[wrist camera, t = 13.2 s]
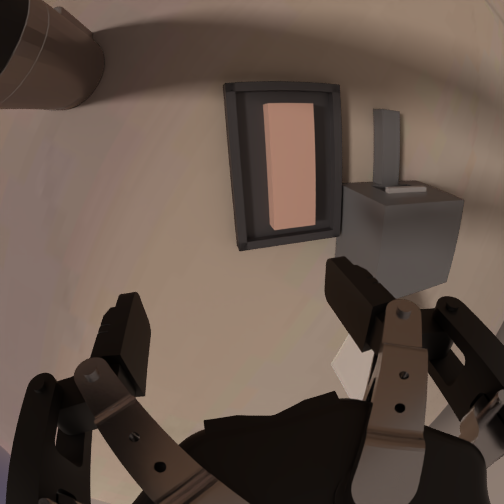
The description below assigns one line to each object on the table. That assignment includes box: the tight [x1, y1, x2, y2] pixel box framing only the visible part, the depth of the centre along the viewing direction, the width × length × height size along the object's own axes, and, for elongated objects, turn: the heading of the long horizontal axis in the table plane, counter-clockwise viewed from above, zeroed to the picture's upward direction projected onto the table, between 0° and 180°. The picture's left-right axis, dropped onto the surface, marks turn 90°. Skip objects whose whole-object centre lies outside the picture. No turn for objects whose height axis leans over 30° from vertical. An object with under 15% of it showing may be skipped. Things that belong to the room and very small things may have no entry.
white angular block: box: [331, 334, 374, 400], centre depth 45 cm, size 14×29×10 cm, turn 10°
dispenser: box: [335, 109, 464, 299], centre depth 31 cm, size 22×14×10 cm, turn 4°
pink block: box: [263, 103, 316, 230], centre depth 30 cm, size 14×5×2 cm, turn 4°
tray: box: [223, 81, 342, 251], centre depth 30 cm, size 19×13×2 cm
